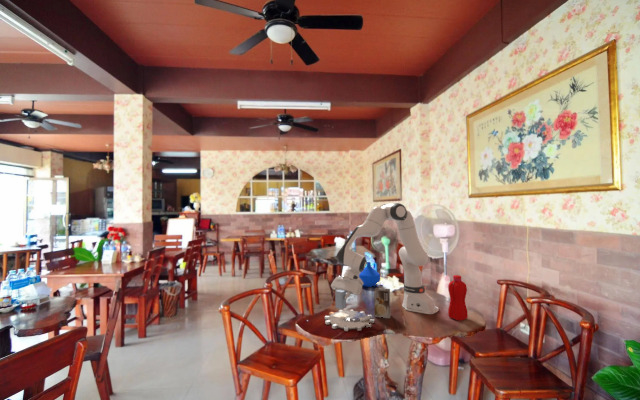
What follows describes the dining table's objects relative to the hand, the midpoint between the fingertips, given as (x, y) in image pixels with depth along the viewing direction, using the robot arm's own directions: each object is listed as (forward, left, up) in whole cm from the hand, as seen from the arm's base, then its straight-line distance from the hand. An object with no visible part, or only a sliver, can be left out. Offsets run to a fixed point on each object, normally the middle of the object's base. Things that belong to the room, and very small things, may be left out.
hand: (340, 297), depth 181 cm
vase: (+26, -70, -12) cm, 76 cm away
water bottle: (-52, -44, -12) cm, 69 cm away
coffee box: (-17, -19, -12) cm, 29 cm away
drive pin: (0, 0, -6) cm, 6 cm away
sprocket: (-6, 0, -12) cm, 14 cm away
